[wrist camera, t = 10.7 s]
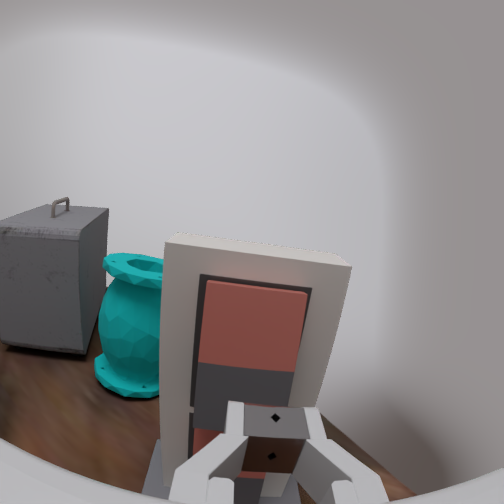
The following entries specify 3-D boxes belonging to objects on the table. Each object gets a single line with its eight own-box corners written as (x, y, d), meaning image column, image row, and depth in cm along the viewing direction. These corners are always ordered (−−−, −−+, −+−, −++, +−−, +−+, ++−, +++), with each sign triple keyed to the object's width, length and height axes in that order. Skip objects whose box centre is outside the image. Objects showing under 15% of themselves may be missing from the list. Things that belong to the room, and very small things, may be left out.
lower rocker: (191, 498, 22) (196, 418, 22) (255, 504, 22) (272, 426, 22) (189, 506, 21) (194, 427, 21) (256, 512, 21) (274, 434, 21)
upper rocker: (194, 418, 20) (208, 279, 20) (279, 427, 20) (303, 291, 20) (192, 427, 18) (206, 281, 18) (281, 435, 19) (307, 294, 19)
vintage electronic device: (42, 289, 68) (42, 191, 63) (106, 295, 74) (110, 195, 69) (-6, 351, 39) (-21, 205, 33) (85, 364, 44) (80, 210, 39)
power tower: (157, 447, 31) (162, 224, 26) (289, 460, 32) (347, 249, 27) (136, 524, 20) (103, 255, 14) (301, 538, 21) (413, 294, 15)
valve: (97, 248, 44) (253, 266, 62) (87, 350, 46) (232, 347, 64) (115, 278, 33) (303, 291, 51) (104, 403, 35) (274, 383, 53)
